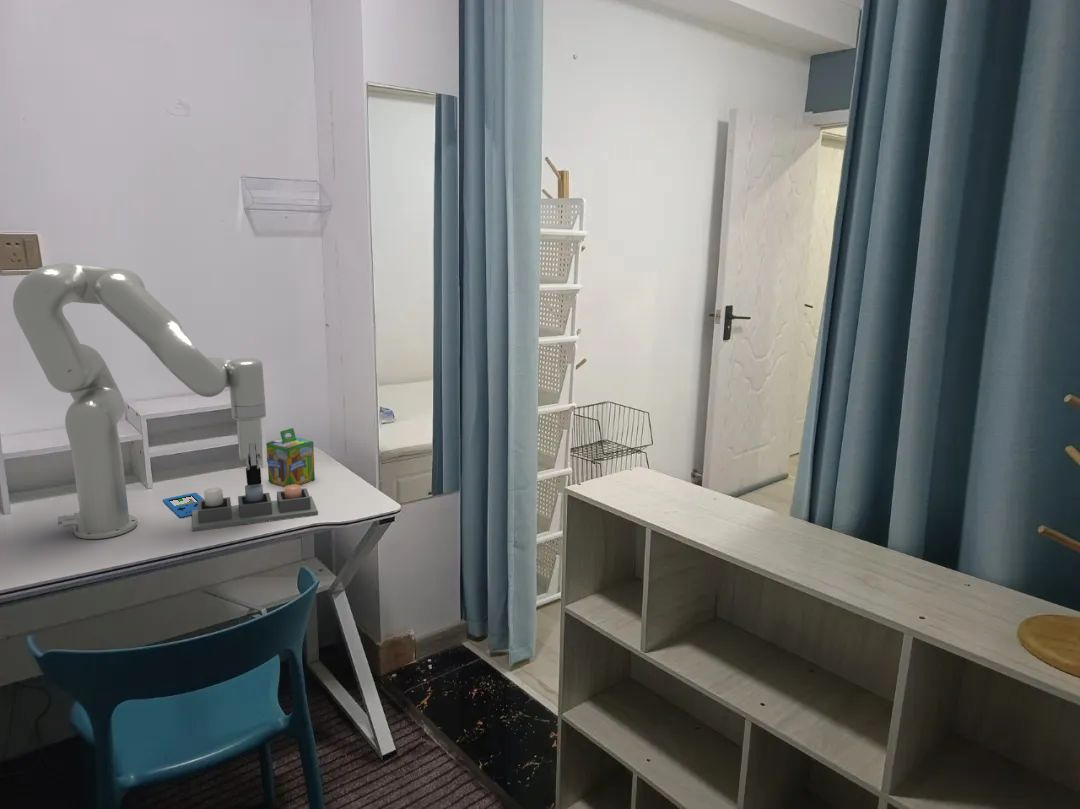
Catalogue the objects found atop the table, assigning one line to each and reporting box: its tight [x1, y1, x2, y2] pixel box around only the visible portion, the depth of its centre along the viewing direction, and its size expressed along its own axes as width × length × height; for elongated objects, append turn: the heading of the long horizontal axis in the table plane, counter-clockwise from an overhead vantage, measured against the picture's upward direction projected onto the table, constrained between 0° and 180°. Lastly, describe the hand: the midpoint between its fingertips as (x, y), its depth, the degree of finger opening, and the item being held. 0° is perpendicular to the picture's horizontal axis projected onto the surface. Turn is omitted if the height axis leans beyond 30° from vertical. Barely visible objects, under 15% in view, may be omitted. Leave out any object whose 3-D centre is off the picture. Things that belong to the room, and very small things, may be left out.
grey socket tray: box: [191, 487, 319, 532], centre depth 176 cm, size 28×11×4 cm, turn 115°
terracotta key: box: [283, 484, 302, 500], centre depth 180 cm, size 4×4×3 cm
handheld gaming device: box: [162, 492, 205, 519], centre depth 181 cm, size 8×1×15 cm
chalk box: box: [265, 427, 316, 487], centre depth 199 cm, size 9×9×15 cm
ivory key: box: [203, 487, 224, 506], centre depth 172 cm, size 4×4×3 cm
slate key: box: [244, 483, 264, 501], centre depth 176 cm, size 4×4×3 cm
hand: (254, 483), depth 175 cm, fingers closed
